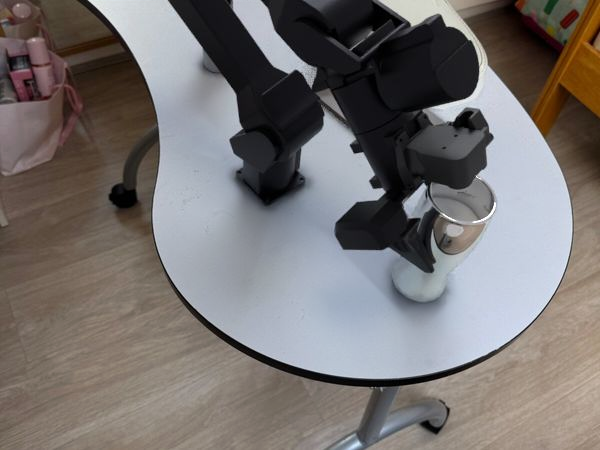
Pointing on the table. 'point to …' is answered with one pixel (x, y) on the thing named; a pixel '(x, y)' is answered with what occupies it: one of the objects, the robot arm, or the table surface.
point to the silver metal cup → (445, 235)
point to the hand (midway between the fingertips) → (447, 250)
